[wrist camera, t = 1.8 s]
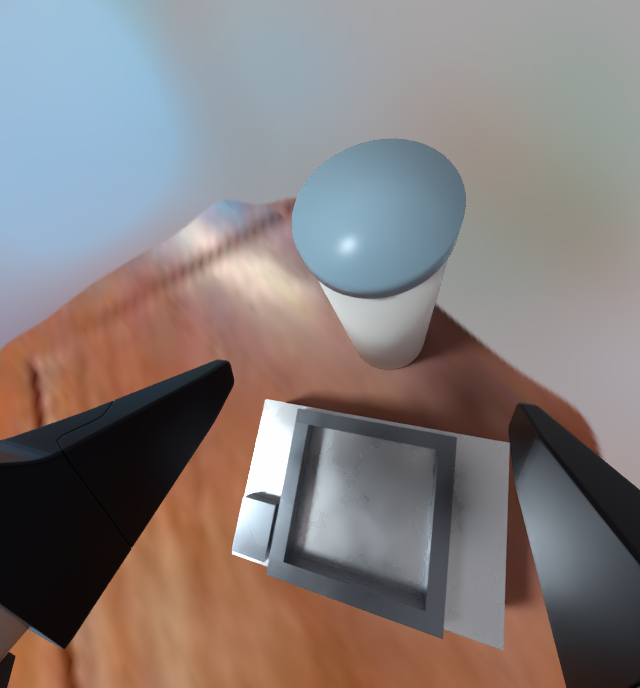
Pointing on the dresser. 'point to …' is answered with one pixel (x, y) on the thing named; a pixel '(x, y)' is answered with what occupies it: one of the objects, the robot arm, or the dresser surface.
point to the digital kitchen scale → (381, 517)
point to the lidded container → (381, 241)
